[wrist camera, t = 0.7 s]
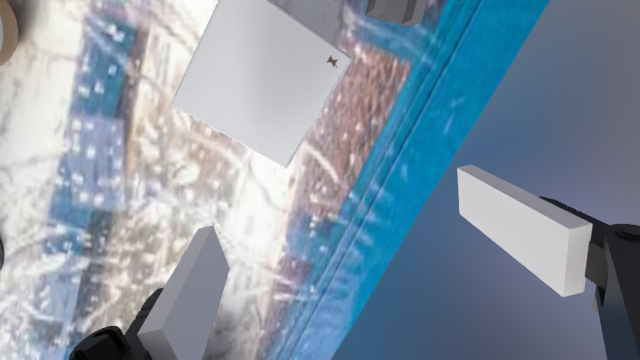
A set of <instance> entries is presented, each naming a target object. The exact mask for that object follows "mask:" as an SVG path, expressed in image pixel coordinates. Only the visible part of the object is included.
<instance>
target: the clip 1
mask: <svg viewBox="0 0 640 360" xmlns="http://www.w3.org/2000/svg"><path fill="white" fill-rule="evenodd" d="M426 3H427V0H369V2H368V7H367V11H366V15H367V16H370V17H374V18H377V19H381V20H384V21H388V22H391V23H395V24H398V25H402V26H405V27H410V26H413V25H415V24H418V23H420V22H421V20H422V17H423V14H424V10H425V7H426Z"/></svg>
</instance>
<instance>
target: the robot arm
mask: <svg viewBox="0 0 640 360" xmlns="http://www.w3.org/2000/svg"><path fill="white" fill-rule="evenodd" d="M458 189H459V209H460V214H461V215H462V216H463V217H464V218H466V219H467V220H468V221H469V222H471V223H472V224H473V225H474V226H476V227H477V228H478V229H479V230H481V231H482V232H483V233H484V234H486V235H487V236H488V237H490V238H491V239H492V240H493V241H494V242H495V243H497V244H498V245H499V246H500V247H502V248H503V249H504V250H505V251H507V252H508V253H509V254H510V255H511V256H513V257H514V258H515V259H516V260H518V261H519V262H520V263H522V264H523V265H524V266H525V267H526V268H528V269H529V270H530V271H531V272H533V273H534V274H535V275H536V276H537V277H539V278H540V279H541V280H543V281H544V282H545V283H546V284H547V285H549V286H550V287H551V288H552V289H554V290H555V291H556V292H557V293H559V294H560V295H561V296H562V297H565V296H569V295H573V294H577V293H581V292H584V285H585V278H588V279H589V280H591V281H592V282H594V283H595V284H596V291H595V298H594V304H593V311H597V310H598V312H599V317H600V322H601V327H602V333H603V338H604V344H605V349H606V354H607V359H608V360H640V226H637V225H630V224H614V225H608V224H606V223H604V222H601V221H599V220H597V219H595V218H593V217H591V216H588V215H586V214H584V213H582V212H580V211H577V210H576V209H574V208H571V207H567V205H565V204H563V203H561V202H558V201H556V200H553V199H549V198H545V197H541V196H540V197H537V196H535V195H533V194H530V193H529V192H526V191H524V190H522V189H520V188H518V187H516V186H514V185H512V184H510V183H508V182H506V181H504V180H502V179H500V178H498V177H496V176H494V175H491V174H490V173H488V172H485V171H483V170H481V169H479V168H477V167H475V166H473V165H468V166H463V167H459V168H458ZM2 261H3V252H2V247H1V243H0V269H1V266H2ZM229 269H230V268H229V266H228V263H227V261H226V258H225V255H224V253H223V250H222V248H221V245H220V242H219V240H218V237H217V235H216V232H215V229H214V227H213V226H209V227H205V228H200V229H198V231H197V232H196V234H195V236H194V238H193V239H192V241H191V243H190V244H189V246H188V248H187V250H186V251H185V253H184V255H183V256H182V258H181V260H180V262H179V263H178V265H177V267H176V268H175V270H174V272H173V274H172V275H171V277H170V279H169V281H168V282H167V284H166V286H165V287H164V288H160V289H157V290H156V291H155V292H154V293H153V294H152V295H151V296H150V297H149V298H148V299H147V300H146V302H145V303H144V305H143V306H142V308H141V311H139V313H138V314H137V316H136V317H135V318H136V319H135V320H134V321H133V322H132V324H131V325H130V327H129V329H128V330H127V332H126V333H125V335H123V333H122V331H121V329H120V328H119V327H117V326H108V327H105V328H102V329H100V330H98V331H96V332H94V333H92V334H91V335H89V336H88V337H86V338H85V339H84V340H82V341H81V342H80V343H79V344H78V345H77V346H76V347H75V348H74V350H73V351H72V353H71V354H70V357H69V360H202V359H203V356H204V352H205V349H206V346H207V342H208V339H209V336H210V332H211V329H212V326H213V323H214V319H215V316H216V313H217V309H218V306H219V303H220V299H221V296H222V293H223V289H224V286H225V283H226V279H227V276H228V273H229Z"/></svg>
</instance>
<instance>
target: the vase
mask: <svg viewBox="0 0 640 360" xmlns="http://www.w3.org/2000/svg"><path fill="white" fill-rule="evenodd" d="M17 43H18V25H17V21H16V18H15V15H14V12H13V10H12V8H11V6H10V4H9V3H8V1H7V0H0V66H1V65H3V64H4V63H5V62H7V61H8V60H9V59H10V57H11V56H12V54H13V53H14V51H15V49H16V46H17Z"/></svg>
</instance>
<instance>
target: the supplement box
mask: <svg viewBox="0 0 640 360" xmlns="http://www.w3.org/2000/svg"><path fill="white" fill-rule="evenodd" d="M351 61H352V58H351V57H350V56H349V55H348V54H346V53H345V52H344V51H342V50H341V49H339V48H338V47H337V46H335V45H334V44H332V43H331V42H329V41H328V40H327V39H325V38H324V37H322V36H321V35H319V34H318V33H317V32H315V31H314V30H312V29H311V28H309V27H308V26H306V25H305V24H303V23H302V22H300V21H299V20H298V19H296V18H295V17H293V16H292V15H290V14H289V13H287V12H286V11H284V10H283V9H281V8H280V7H278V6H277V5H275V4H274V3H272V2H271V1H269V0H219V1H218V3H217V5H216V7H215V10H214V12H213V14H212V16H211V18H210V20H209V22H208V25H207V27H206V29H205V31H204V33H203V35H202V37H201V40H200V42H199V44H198V46H197V48H196V50H195V53H194V55H193V57H192V59H191V61H190V63H189V66H188V68H187V70H186V72H185V74H184V76H183V79H182V81H181V83H180V85H179V87H178V90H177V92H176V94H175V97H174V99H173V101H172V103H171V105H172V106H174V107H176V108H178V109H180V110H182V111H184V112H185V113H187V114H189V115H191V116H192V117H194V118H196V119H198V120H200V121H201V122H204V123H205V124H207V125H209V126H211V127H213V128H215V129H216V130H218V131H220V132H222V133H224V134H225V135H227V136H229V137H231V138H233V139H234V140H236V141H238V142H240V143H241V144H243V145H245V146H246V147H248V148H250V149H251V150H253V151H255V152H257V153H258V154H260V155H262V156H263V157H265V158H267V159H269V160H270V161H272V162H274V163H276V164H277V165H279V166H281V167H283V168H285V169H286V168H287V167H288V166H289V164H290V163H291V161H292V159H293V158H294V156H295V154H296V153H297V151H298V149H299V148H300V146H301V144H302V143H303V141H304V139H305V138H306V136H307V134H308V133H309V131H310V129H311V128H312V126H313V124H314V123H315V122H316V120H317V119H318V117H319V116H320V113H321V111H322V109H323V108H324V106H325V104H326V103H327V101H328V99H329V98H330V96H331V94H332V93H333V91H334V89H335V88H336V86H337V84H338V83H339V81H340V80H341V78H342V76H343V75H344V73H345V71H346V70H347V68H348V66H349V64H350V63H351Z"/></svg>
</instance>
